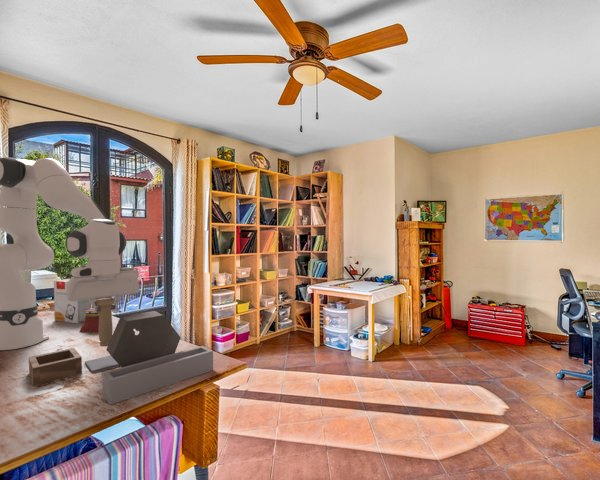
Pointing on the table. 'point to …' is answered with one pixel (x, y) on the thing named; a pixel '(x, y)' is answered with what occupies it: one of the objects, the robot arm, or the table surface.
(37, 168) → the robot arm
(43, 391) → the table surface
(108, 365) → the mat
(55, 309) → the hard drive box
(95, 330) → the red drawstring pouch
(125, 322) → the planter
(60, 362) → the block
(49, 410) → the table surface
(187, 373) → the tray
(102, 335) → the handle
